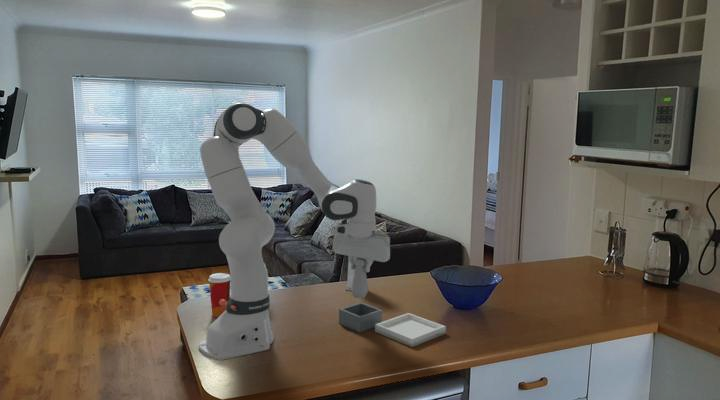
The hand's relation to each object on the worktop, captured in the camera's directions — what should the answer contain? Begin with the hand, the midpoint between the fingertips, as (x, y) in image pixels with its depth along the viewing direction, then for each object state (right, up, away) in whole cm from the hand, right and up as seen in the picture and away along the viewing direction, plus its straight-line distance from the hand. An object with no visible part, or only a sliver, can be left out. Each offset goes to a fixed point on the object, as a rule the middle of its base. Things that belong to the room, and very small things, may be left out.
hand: (360, 270), depth 181 cm
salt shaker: (0, -9, +1) cm, 9 cm away
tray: (+16, -20, -4) cm, 26 cm away
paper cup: (-48, -17, +10) cm, 52 cm away
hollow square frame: (0, -18, +3) cm, 19 cm away
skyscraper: (-2, -13, +41) cm, 43 cm away
